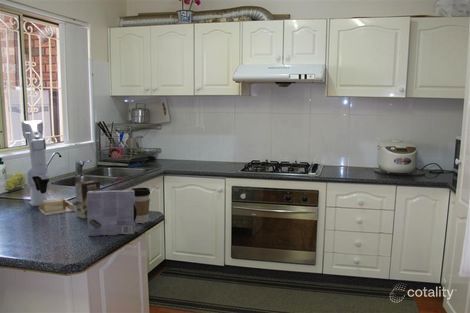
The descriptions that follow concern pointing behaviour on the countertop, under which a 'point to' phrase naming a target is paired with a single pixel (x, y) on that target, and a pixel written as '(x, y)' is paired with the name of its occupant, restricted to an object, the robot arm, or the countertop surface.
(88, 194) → the cake pan box
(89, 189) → the coffee box
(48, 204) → the maple block
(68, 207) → the arena
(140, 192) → the coffee cup
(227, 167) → the countertop surface
